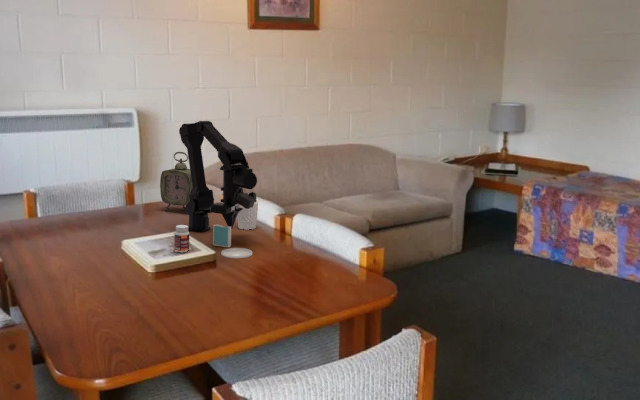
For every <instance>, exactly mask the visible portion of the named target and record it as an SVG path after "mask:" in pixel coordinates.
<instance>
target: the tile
mask: <svg viewBox="0 0 640 400" xmlns="http://www.w3.org/2000/svg"><path fill="white" fill-rule="evenodd" d="M212 228H213V231H212V233H213V234H212V236H213V237H212V246H217V247H223V248H227V249H228V248H232V229H231V226H228V225H222V224H217V223H216V224H213V227H212Z"/></svg>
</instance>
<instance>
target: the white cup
mask: <svg viewBox="0 0 640 400" xmlns="http://www.w3.org/2000/svg"><path fill="white" fill-rule="evenodd" d="M239 206H240V208H243V210H241V211H240V212H239V213H238V214H237V225H238V229H240V230H243V229H244V230H246V231H250V230H249V229H252V230H255V229H256V228H257V221H258V210H259V202H258V201H257V202H255V203H254V205H253V207H251V208H249V209H246V208H244V207H243V206H241V205H239Z"/></svg>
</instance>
